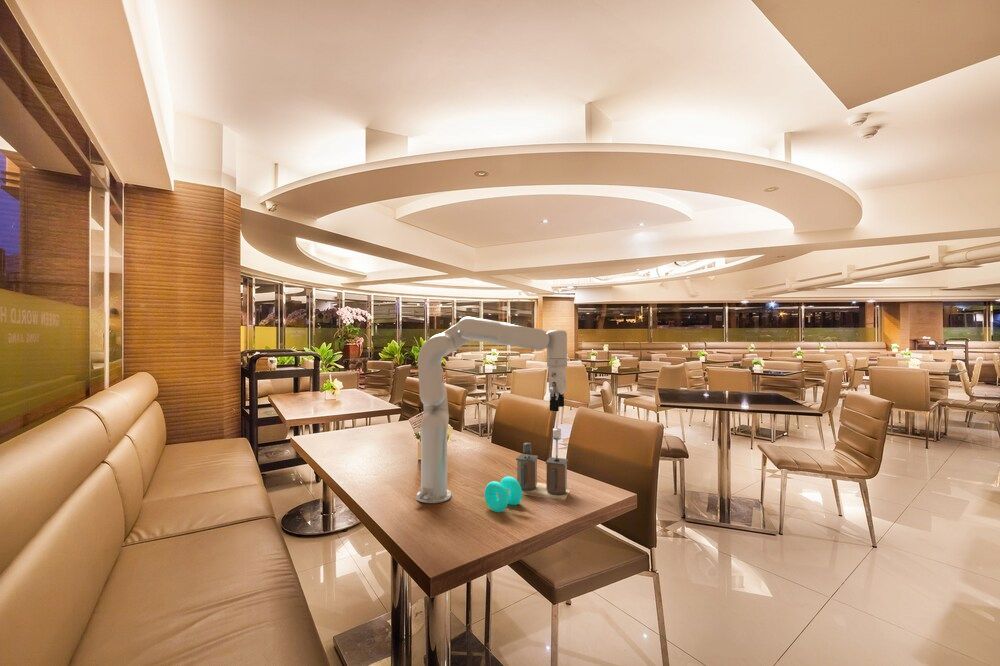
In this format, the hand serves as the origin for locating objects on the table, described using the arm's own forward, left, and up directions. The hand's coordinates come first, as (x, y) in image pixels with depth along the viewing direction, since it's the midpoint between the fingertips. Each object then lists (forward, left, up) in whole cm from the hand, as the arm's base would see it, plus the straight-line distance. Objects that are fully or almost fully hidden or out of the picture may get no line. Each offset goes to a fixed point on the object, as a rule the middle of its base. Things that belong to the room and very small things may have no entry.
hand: (557, 408), depth 155 cm
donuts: (-19, +15, -32) cm, 40 cm away
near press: (-1, 0, -31) cm, 31 cm away
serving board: (0, +6, -32) cm, 33 cm away
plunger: (0, 0, -23) cm, 23 cm away
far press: (-1, +12, -31) cm, 33 cm away
